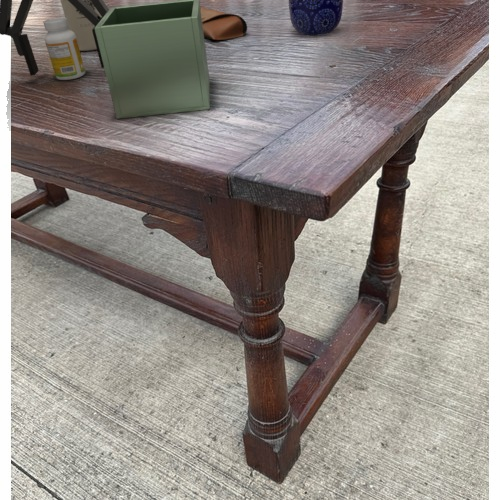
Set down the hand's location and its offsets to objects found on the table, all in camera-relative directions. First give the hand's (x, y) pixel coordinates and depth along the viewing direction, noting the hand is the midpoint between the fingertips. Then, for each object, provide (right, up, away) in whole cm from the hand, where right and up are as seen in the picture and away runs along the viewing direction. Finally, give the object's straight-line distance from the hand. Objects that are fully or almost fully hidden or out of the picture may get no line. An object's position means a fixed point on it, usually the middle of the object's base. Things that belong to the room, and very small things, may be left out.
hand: (69, 69), depth 93 cm
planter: (+47, +12, +12) cm, 50 cm away
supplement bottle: (0, -1, +1) cm, 1 cm away
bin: (+20, -9, -14) cm, 26 cm away
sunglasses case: (+24, +15, +20) cm, 35 cm away
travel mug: (-1, +11, +18) cm, 21 cm away
